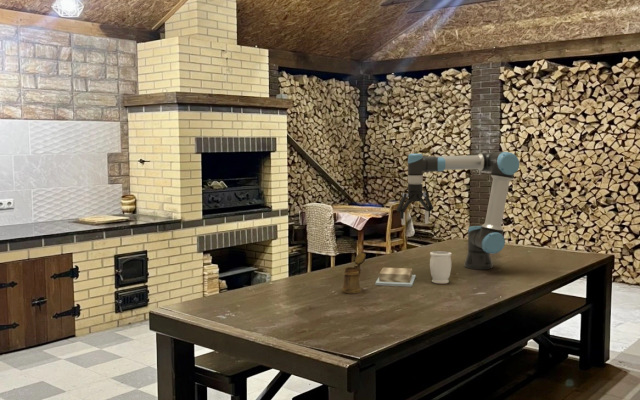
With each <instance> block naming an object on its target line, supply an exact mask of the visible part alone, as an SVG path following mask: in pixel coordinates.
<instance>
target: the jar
mask: <svg viewBox="0 0 640 400" xmlns="http://www.w3.org/2000/svg"><path fill="white" fill-rule="evenodd" d="M429 255H430V259H429V270H430V275H431V278H432V280H431V282H432V283H434V284H437V285H438V284H441V285H442V284H448V283H449V282H450V281H449V280H450V279H449V278H450V276H451V270H452V259H451V258H452V257H451V256H452V252H450V251H444V250H435V251H433V250H432V251H430V252H429Z"/></svg>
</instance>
